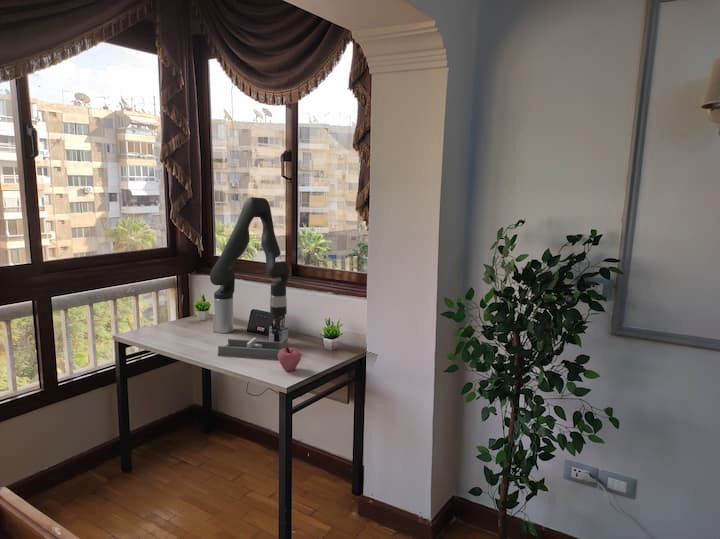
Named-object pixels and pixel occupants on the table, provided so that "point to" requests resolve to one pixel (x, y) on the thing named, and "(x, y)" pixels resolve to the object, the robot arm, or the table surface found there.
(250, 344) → the pusher
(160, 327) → the table surface
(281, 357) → the apple
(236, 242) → the robot arm
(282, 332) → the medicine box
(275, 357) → the lane
